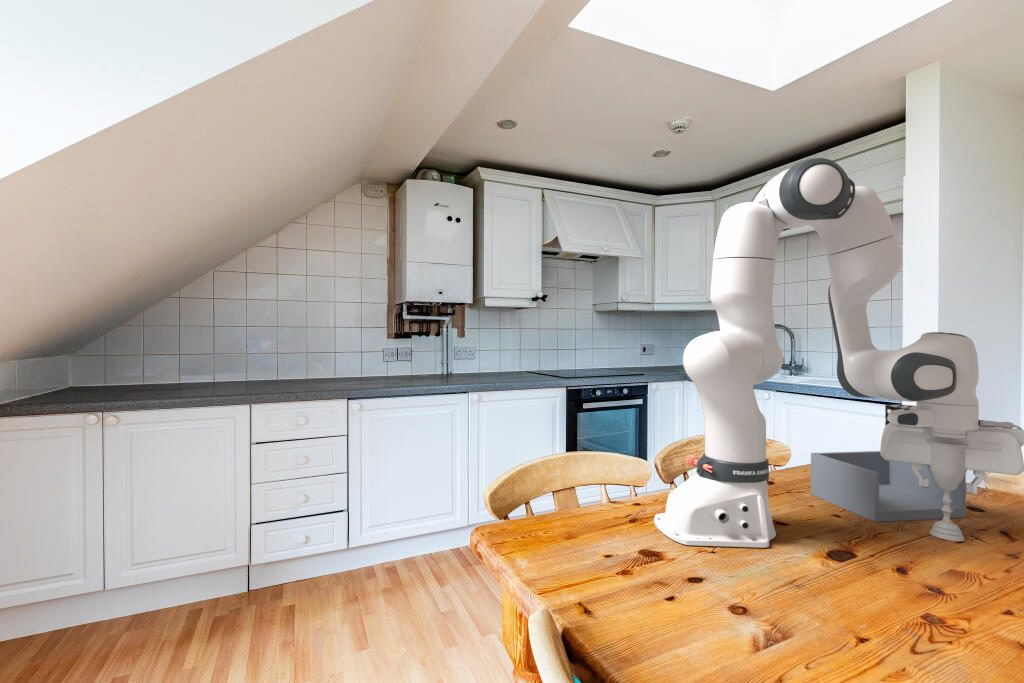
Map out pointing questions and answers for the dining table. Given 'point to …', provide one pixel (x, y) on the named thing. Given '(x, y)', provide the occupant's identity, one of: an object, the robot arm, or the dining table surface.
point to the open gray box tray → (880, 487)
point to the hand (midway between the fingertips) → (946, 490)
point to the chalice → (947, 484)
